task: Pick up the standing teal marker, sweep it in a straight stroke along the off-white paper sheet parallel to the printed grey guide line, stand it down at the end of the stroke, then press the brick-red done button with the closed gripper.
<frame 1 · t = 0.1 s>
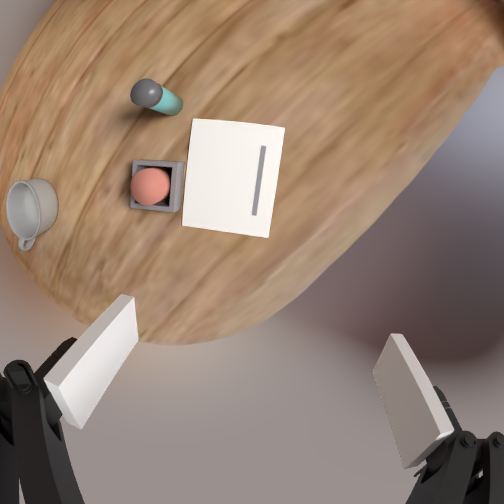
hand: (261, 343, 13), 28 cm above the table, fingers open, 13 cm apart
done button: (151, 185, 35), point 3 cm above the table, slide at 0.0 cm
marker: (172, 105, 34), on the table
paper: (230, 177, 37), on the table
teacup: (46, 209, 41), on the table
button housing: (160, 183, 38), on the table
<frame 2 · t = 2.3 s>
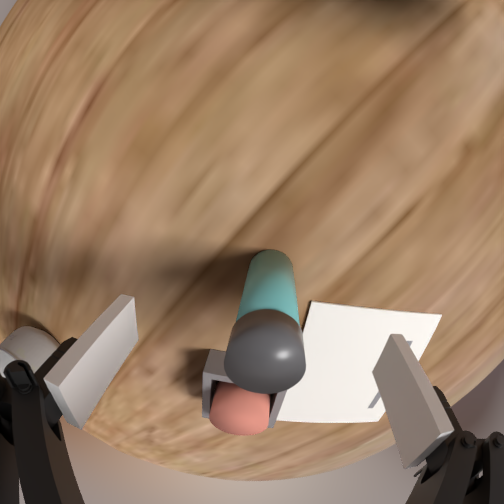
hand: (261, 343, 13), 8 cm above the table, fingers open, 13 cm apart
done button: (240, 406, 21), point 3 cm above the table, slide at 0.0 cm
marker: (270, 270, 20), on the table
paper: (354, 376, 23), on the table
teacup: (52, 354, 27), on the table
button housing: (244, 381, 24), on the table
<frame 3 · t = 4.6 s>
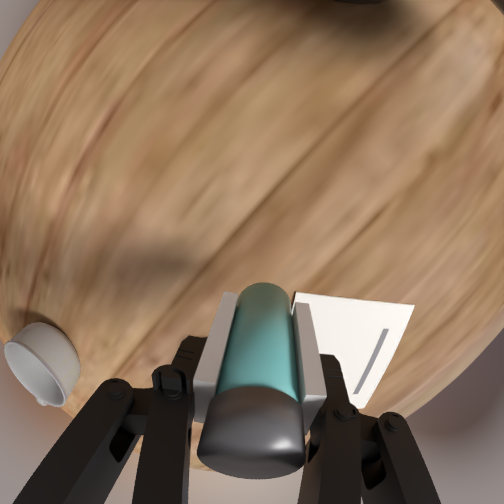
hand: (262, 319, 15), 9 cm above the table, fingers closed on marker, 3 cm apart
marker: (263, 306, 16), point 8 cm above the table, touching gripper
paper: (338, 362, 27), on the table
teacup: (60, 350, 30), on the table
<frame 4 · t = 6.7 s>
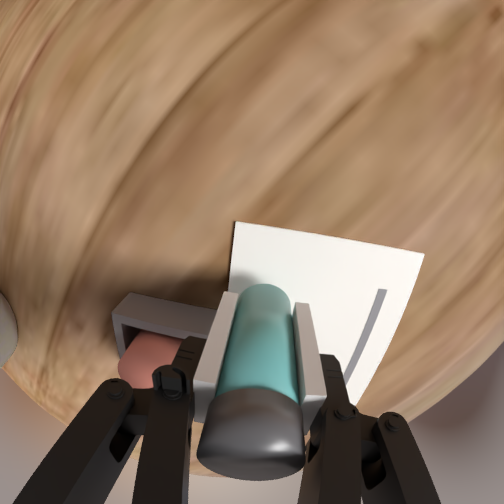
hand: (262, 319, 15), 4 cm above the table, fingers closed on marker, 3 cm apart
done button: (159, 365, 17), point 3 cm above the table, slide at 0.0 cm
marker: (263, 307, 16), point 2 cm above the table, touching gripper
paper: (311, 340, 19), on the table
teacup: (4, 316, 23), on the table
button housing: (173, 338, 20), on the table
when the fingers open (2 cm above the table, at t = 8.9 s): marker stays where it is, resting on paper.
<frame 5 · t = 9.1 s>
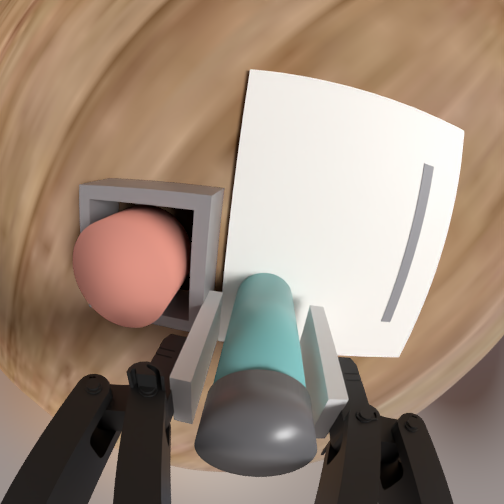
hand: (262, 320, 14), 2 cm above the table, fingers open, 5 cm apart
done button: (133, 263, 12), point 3 cm above the table, slide at 0.0 cm
marker: (264, 298, 15), resting on paper
paper: (349, 236, 14), on the table
button housing: (159, 242, 15), on the table
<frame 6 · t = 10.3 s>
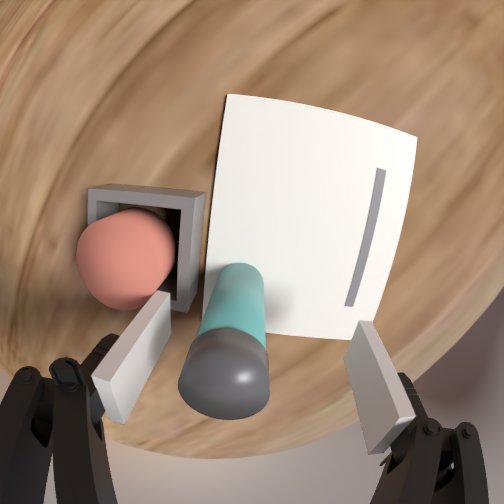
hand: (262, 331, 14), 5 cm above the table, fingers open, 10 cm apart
done button: (127, 256, 14), point 4 cm above the table, slide at -0.7 cm, touching gripper
marker: (240, 284, 18), resting on paper
paper: (310, 231, 17), on the table
button housing: (152, 237, 18), on the table
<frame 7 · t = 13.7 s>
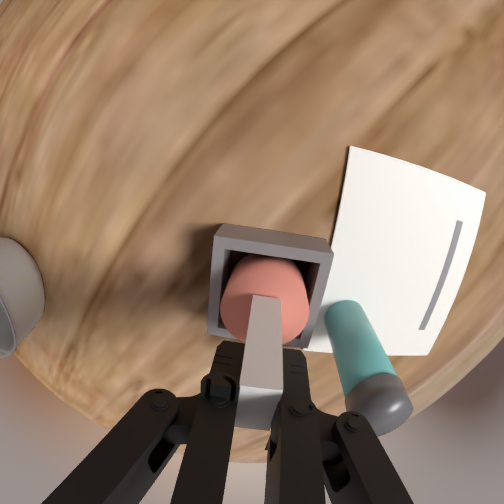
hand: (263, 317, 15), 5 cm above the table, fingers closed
done button: (265, 298, 17), point 3 cm above the table, slide at 0.3 cm, touching gripper
marker: (344, 317, 20), resting on paper
paper: (404, 272, 18), on the table
teacup: (27, 284, 22), on the table
button housing: (266, 277, 19), on the table
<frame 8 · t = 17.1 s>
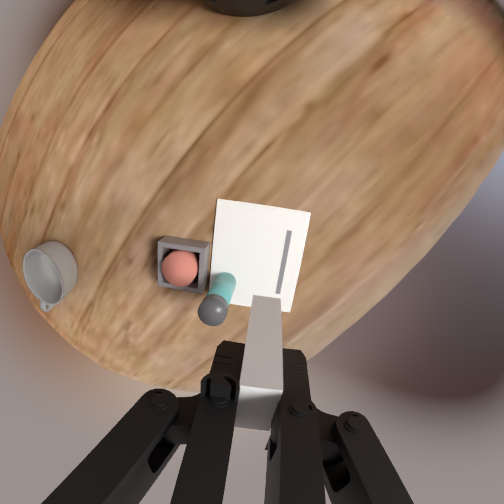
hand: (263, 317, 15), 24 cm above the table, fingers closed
done button: (181, 266, 39), point 2 cm above the table, slide at 1.1 cm
marker: (225, 282, 41), resting on paper
paper: (256, 259, 40), on the table
teacup: (64, 268, 44), on the table
button housing: (186, 260, 41), on the table
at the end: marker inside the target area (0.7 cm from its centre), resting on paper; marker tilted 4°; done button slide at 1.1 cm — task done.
